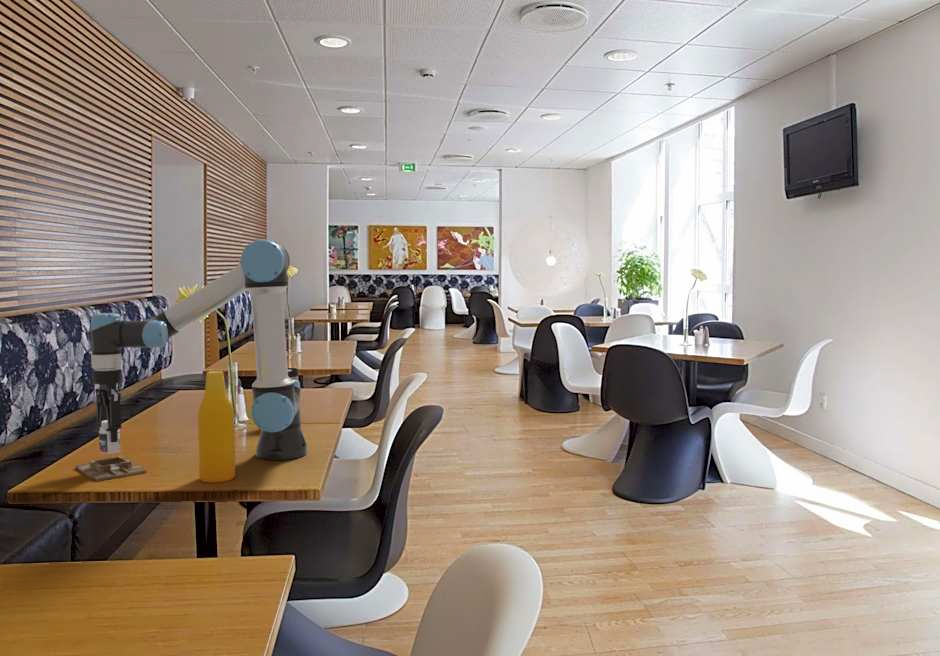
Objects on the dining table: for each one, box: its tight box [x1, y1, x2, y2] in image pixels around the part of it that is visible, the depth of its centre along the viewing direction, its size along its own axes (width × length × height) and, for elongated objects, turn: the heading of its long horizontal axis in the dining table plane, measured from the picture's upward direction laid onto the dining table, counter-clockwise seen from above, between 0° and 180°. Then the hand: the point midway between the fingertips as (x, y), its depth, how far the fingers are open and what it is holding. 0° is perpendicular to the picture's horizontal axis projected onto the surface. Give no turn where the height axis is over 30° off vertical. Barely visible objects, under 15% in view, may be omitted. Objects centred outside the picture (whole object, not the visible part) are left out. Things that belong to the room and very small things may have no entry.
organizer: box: [75, 455, 147, 482], centre depth 213 cm, size 18×13×3 cm
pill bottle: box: [98, 420, 121, 455], centre depth 212 cm, size 5×5×9 cm
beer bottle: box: [197, 370, 236, 484], centre depth 204 cm, size 9×9×29 cm
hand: (109, 451), depth 212 cm, fingers closed on pill bottle, 5 cm apart
